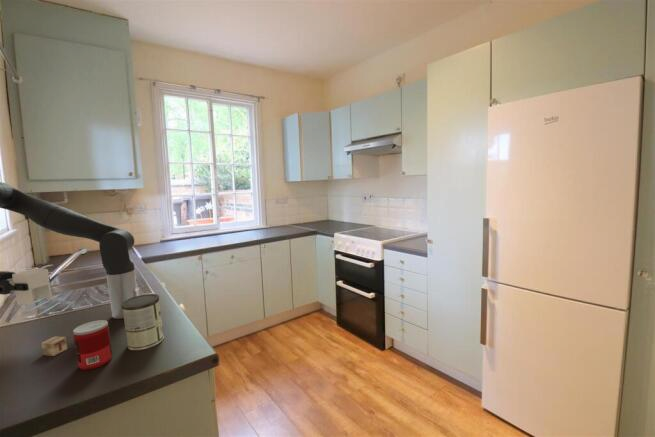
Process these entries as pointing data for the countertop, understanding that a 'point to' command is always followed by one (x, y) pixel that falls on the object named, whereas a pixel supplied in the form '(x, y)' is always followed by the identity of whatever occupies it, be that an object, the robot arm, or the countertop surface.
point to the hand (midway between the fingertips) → (38, 283)
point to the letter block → (54, 346)
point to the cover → (32, 286)
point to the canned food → (92, 344)
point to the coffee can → (142, 321)
